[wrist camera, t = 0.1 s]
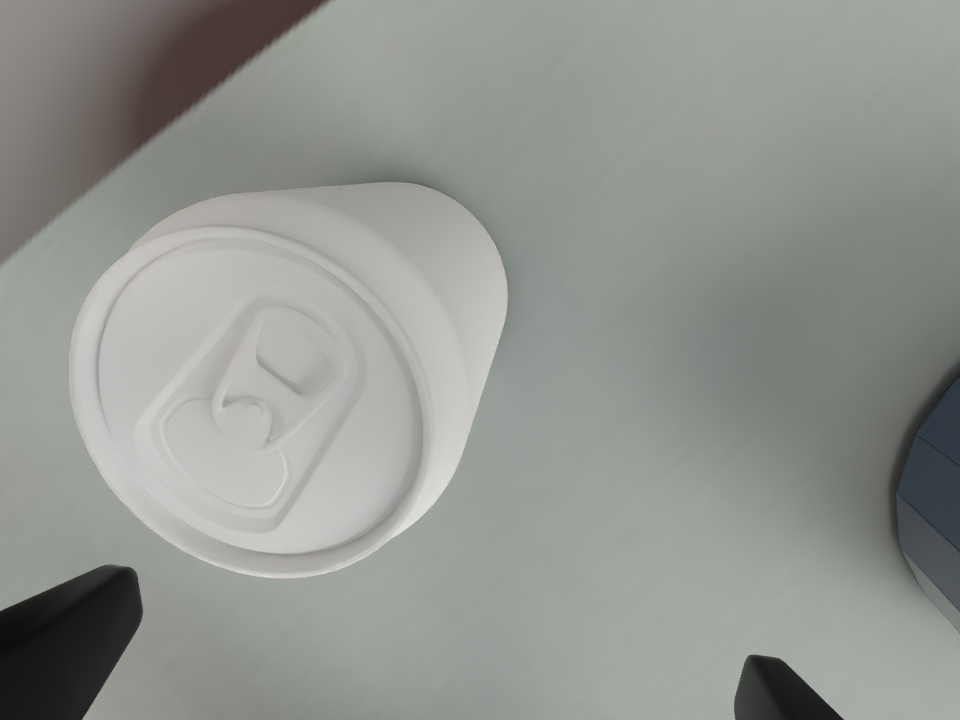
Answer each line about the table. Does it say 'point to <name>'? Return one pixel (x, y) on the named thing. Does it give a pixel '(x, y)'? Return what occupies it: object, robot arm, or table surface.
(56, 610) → the robot arm
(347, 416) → the beverage can
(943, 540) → the bowl
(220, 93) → the table surface
